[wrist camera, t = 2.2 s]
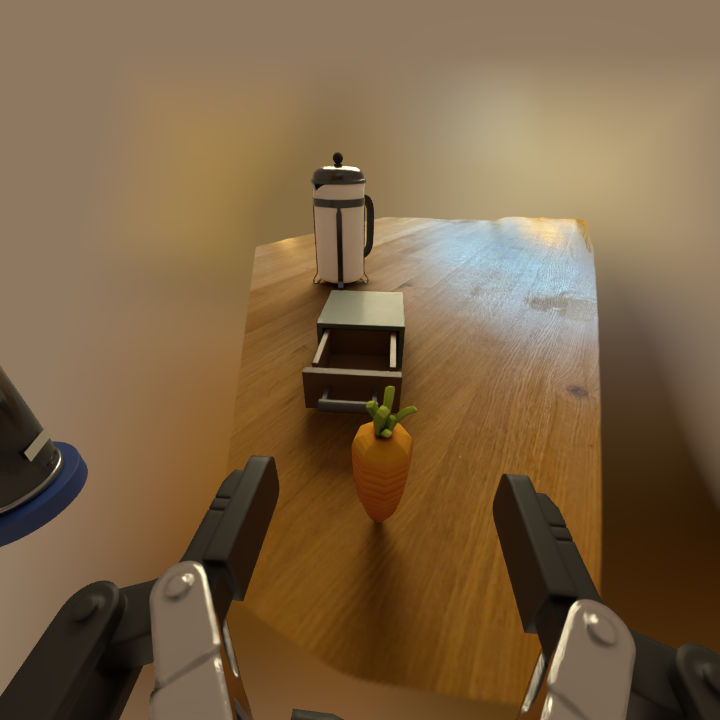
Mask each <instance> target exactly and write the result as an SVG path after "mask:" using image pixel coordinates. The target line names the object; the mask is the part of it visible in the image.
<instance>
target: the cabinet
mask: <svg viewBox="0 0 720 720" xmlns="http://www.w3.org/2000/svg"><path fill="white" fill-rule="evenodd" d="M326 328H343V329H365V330H387V331H396V368H402V357H403V345H404V333H405V318H404V300H403V293H396V292H369V291H341V290H332V291H331V293H330V295H329V298H328V300H327V302H326V304H325V306H324V308H323V310H322V313H321V315H320V317H319V319H318V321H317V336H318V347H319V345H320V342H321V340H322V337H323V334H324V332H325V329H326Z"/></svg>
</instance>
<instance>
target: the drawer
mask: <svg viewBox="0 0 720 720" xmlns="http://www.w3.org/2000/svg"><path fill="white" fill-rule="evenodd" d="M302 375H303V385H304V394H305V404H306V408H318V412H332V413H348V414H363V415H371V414H370V413H369V412H368V410H367V409H366V405H367V403H368V402H369V401H375V402H376V404H377V406H378V408H380V407H381V406H382V405H383V402H384V393H385V388H386V387H388V386H393V387H395V393H394V399H393V404H392V409H391V413H398V412H399V406H400V395H401V383H402V372H396V331H387V330H365V329H343V328H326V329H325V332H324V334H323V337H322V340H321V342H320V345H319V347H318V350H317V352H316V355H315V357H314V360H313V362H312V367H304V369H303V371H302Z"/></svg>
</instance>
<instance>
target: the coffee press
mask: <svg viewBox="0 0 720 720" xmlns="http://www.w3.org/2000/svg"><path fill="white" fill-rule="evenodd" d="M333 160H334V162H335V163H336V164H334V166H323V167H320V168H318V169H316V170H315V171H314V173H313V178H312V179H311V183H312V185H313V213H314V212H315V213H314V229H315V228H316V229H315V244H317V246H316V260H318V262H317V273H319V276H320V278H321V279H320V280H319V281H315V280H314V279H315V277H316V276H317V274H316V275H315V277H314V279H313V282H314V283H316V284H317V283H319V282H320V281H321V280H322V279H323V280H324V281H327V282H331V283H338V290H341V291H344V290H343V283H350V282H354V281H357V280H359V279H360V280H362V281H363V282H364V283H367V282H368V280H367V281H364V280H363V279H362V278H361V277H362V275H363V264H364V258H365V257H366V256H368V255H369V253H370V251H371V249H372V245H373V234H374V207H373V203H372V200H371V198H370V197H369V196H367V195H364V185H365V183H366V179H364V175H363V173H362V171H361V170H360V169H358V168H356V167H352V166H342V164H340V163H341V162H342V160H343V157H342V155H341V154H340V153H339V152H337V153H335V154H334V155H333ZM365 205H366V208H367V242H366V247H365V249H364V250H363V247H364V241H365ZM364 274H365V272H364ZM365 276H366V274H365ZM366 277H367V276H366ZM367 279H368V277H367Z"/></svg>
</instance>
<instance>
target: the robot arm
mask: <svg viewBox="0 0 720 720" xmlns="http://www.w3.org/2000/svg"><path fill="white" fill-rule="evenodd" d="M50 437H51V434H50V433H49V431H48V430H47V428H44V429H43V427H42V426H41V425H40V423H39V421H38V420H37V419H36V417H35V416H34V414H33V413H32V411H31V410H30V408H29V407H28V405H27V404H26V403H25V401H24V400H23V398H22V397H21V395H20V394H19V392H18V391H17V389H16V388H15V387H14V385H13V384H12V382H11V381H10V379H9V378H8V376H7V375H6V373H5V372H4V371H3V369H2V367H1V366H0V517H3V516H5V515H8V514H10V513H12V512H14V511H16V510H18V509H20V508H21V507H23V506H25V505H26V504H28V503H30V502H31V501H33V500H34V499H36V498H37V497H38V496H40V495H41V494H42V493H43V492H45V491H46V490H47V489H48V488H49V487H50V486H51V485H52V484H53V483H54V482H55V481H56V480H57V478H58V477H59V476H60V474H61V472H62V471H63V468H64V465H65V459H64V456H63V455H62V454H61V452H60V451H59V449H58V448H57V447H55V445H54V444H53V442H52V441H51V439H50ZM278 495H279V480H278V475H277V470H276V465H275V460H274V458H273V457H269V456H255V455H252V456H251V457H250V458H249V460H248V462H247V464H246V466H245V468H244V470H234V471H233V472H232V473H231V474H230V475H229V476H228V477H227V478H226V479H225V480H224V481H223V483H222V484H221V487H220V488H219V490H218V492H217V494H216V498H214V500H213V501H212V503H211V505H210V509H209V510H208V511H207V513H206V515H205V517H204V518H203V521H202V522H201V524H200V526H199V528H198V530H197V532H196V534H195V536H194V538H193V539H192V541H191V543H190V545H189V547H188V549H187V551H186V553H185V554H184V556H183V557H182V559H181V560H180V561H179V563H178V564H175V565H174V566H172V567H170V568H169V569H168V570H166V571H165V572H164V573H163V574H162V575H161V576H160V577H159V578H157V579H155V580H152V581H149V582H144V583H140V584H137V585H133V586H129V587H125V588H121V589H118V588H117V586H116V585H115V584H114V583H113V582H110V581H98V582H94V583H92V584H89V585H87V586H85V587H84V588H82V589H80V590H79V591H78V592H76V593H75V594H74V595H73V596H72V597H70V598H69V600H68V601H67V602H66V603H65V604H64V605H63V606H62V608H61V609H60V611H59V612H58V613H57V615H56V616H55V618H54V619H53V621H52V622H51V624H50V625H49V627H48V628H47V630H46V631H45V632H44V634H43V635H42V637H41V638H40V640H39V641H38V643H37V644H36V646H35V647H34V648H33V650H32V651H31V653H30V654H29V656H28V657H27V659H26V660H25V662H24V663H23V664H22V666H21V667H20V669H19V670H18V672H17V673H16V675H15V676H14V678H13V679H12V680H11V682H10V684H9V685H8V686H7V688H6V689H5V691H4V692H3V694H2V695H1V696H0V720H119V719H120V716H121V714H122V712H123V710H124V707H125V705H126V703H127V701H128V699H129V696H130V694H131V692H132V689H133V687H134V685H135V683H136V680H137V678H138V676H139V674H140V672H141V669H142V667H143V665H146V664H149V663H153V662H154V669H155V688H154V691H153V692H152V693H151V695H150V701H149V720H253V717H252V713H251V709H250V705H249V702H248V699H247V696H246V693H245V690H244V687H243V683H242V680H241V676H240V671H239V667H238V663H237V659H236V655H235V650H234V646H233V642H232V638H231V634H230V630H229V626H228V621H227V617H226V615H227V612H228V609H229V607H230V604H231V601H232V600H237V601H243V600H244V597H245V594H246V591H247V588H248V585H249V582H250V579H251V576H252V573H253V571H254V568H255V565H256V562H257V559H258V556H259V553H260V550H261V547H262V544H263V541H264V538H265V535H266V532H267V530H268V527H269V524H270V521H271V518H272V515H273V512H274V509H275V506H276V503H277V500H278ZM493 517H494V522H495V525H496V529H497V533H498V536H499V540H500V544H501V547H502V551H503V555H504V558H505V562H506V566H507V569H508V573H509V577H510V581H511V584H512V588H513V592H514V595H515V599H516V603H517V606H518V610H519V614H520V617H521V621H522V625H523V628H524V632H525V633H534V634H538V636H539V640H540V643H541V646H542V648H541V650H540V652H539V655H538V658H537V661H536V664H535V666H534V669H533V672H532V675H531V678H530V681H529V683H528V686H527V689H526V692H525V695H524V697H523V700H522V703H521V706H520V709H519V712H518V714H517V717H516V719H515V720H720V655H719V654H717V653H716V652H714V651H712V650H710V649H708V648H706V647H704V646H701V645H697V644H685V645H683V646H681V647H680V648H679V649H675V648H672V647H670V646H668V645H665V644H663V643H661V642H658V641H656V640H653V639H651V638H649V637H646V636H644V635H642V634H640V633H638V632H636V631H634V630H632V629H630V628H629V627H627V626H626V625H625V624H624V623H623V622H622V620H621V619H620V618H619V617H618V616H617V615H616V614H615V613H614V612H613V611H612V610H610V609H609V608H608V607H606V606H605V604H604V603H603V601H602V600H601V598H600V596H599V594H598V592H597V590H596V588H595V586H594V584H593V582H592V579H591V577H590V575H589V573H588V571H587V569H586V566H585V564H584V562H583V560H582V558H581V556H580V554H579V551H578V549H577V547H576V545H575V543H574V542H573V541H572V539H573V538H572V536H571V534H570V532H569V530H568V528H566V523H565V521H564V519H563V517H562V515H561V513H560V510H559V508H558V507H557V506H556V505H555V504H554V503H553V502H552V501H551V499H550V498H549V497H548V496H547V495H546V494H543V493H536V491H535V489H534V487H533V484H532V482H531V480H530V478H529V477H528V476H526V475H513V474H503V475H502V477H501V480H500V483H499V486H498V489H497V492H496V495H495V498H494V501H493ZM291 720H343V719H341V718H339V717H338V716H336V715H334V714H328V713H320V712H313V711H306V710H298V709H293V712H292V717H291Z"/></svg>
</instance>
